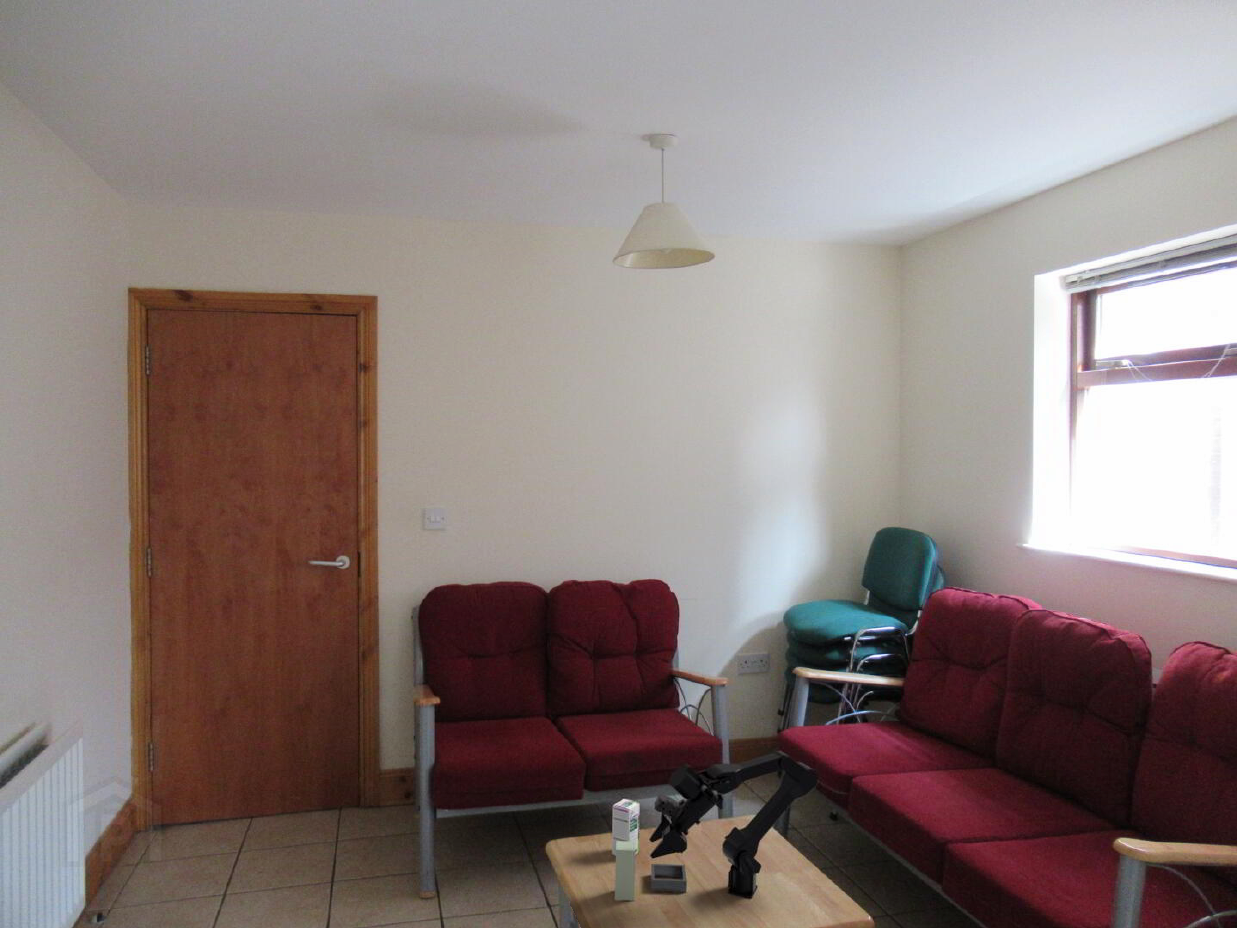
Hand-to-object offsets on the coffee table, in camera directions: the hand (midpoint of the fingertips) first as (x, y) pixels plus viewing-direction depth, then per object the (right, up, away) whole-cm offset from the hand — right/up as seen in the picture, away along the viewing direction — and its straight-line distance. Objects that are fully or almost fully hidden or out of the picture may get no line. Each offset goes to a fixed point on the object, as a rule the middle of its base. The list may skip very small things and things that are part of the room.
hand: (650, 848), depth 230 cm
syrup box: (-6, -12, +24) cm, 28 cm away
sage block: (-7, -12, 0) cm, 14 cm away
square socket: (+5, -12, +7) cm, 15 cm away
